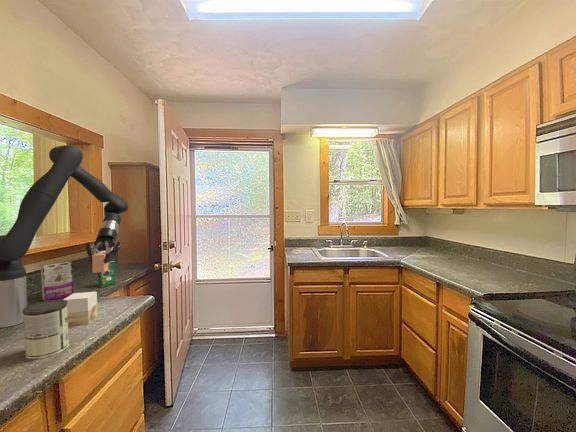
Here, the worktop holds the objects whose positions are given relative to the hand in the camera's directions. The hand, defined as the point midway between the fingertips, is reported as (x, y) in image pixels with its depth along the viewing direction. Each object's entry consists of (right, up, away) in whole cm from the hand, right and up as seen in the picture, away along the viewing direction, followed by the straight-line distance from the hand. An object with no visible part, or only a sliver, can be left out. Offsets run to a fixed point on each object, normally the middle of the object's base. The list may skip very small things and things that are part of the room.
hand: (98, 262), depth 120 cm
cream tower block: (+2, -15, -13) cm, 20 cm away
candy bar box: (-30, -20, +15) cm, 38 cm away
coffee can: (+8, -21, -35) cm, 42 cm away
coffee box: (-18, -19, +34) cm, 43 cm away
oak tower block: (+2, -20, -13) cm, 24 cm away
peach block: (0, -4, +2) cm, 5 cm away
